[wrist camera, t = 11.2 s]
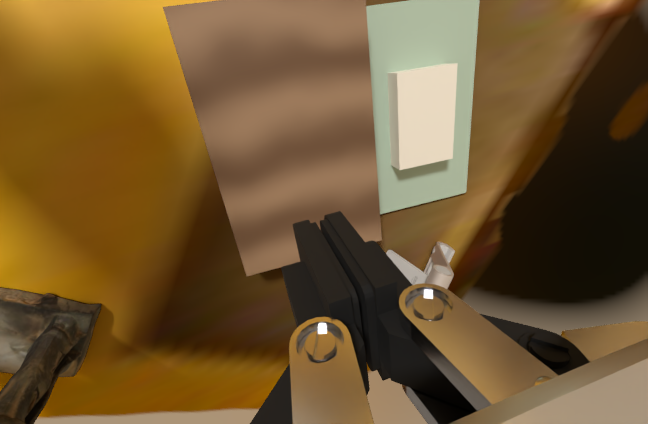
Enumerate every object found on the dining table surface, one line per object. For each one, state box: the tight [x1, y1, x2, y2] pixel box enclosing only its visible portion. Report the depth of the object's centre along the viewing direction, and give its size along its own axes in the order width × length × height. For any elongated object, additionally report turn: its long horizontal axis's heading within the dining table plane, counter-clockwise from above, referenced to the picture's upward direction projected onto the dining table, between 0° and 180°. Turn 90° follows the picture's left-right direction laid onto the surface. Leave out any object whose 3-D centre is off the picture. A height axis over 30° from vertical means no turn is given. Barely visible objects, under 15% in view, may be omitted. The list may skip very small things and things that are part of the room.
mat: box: [366, 0, 479, 214], centre depth 32 cm, size 20×12×1 cm, turn 9°
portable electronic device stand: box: [386, 242, 455, 289], centre depth 37 cm, size 9×8×8 cm
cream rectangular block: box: [387, 63, 458, 170], centre depth 31 cm, size 9×6×2 cm, turn 8°
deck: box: [163, 0, 382, 276], centre depth 28 cm, size 22×14×4 cm, turn 9°
